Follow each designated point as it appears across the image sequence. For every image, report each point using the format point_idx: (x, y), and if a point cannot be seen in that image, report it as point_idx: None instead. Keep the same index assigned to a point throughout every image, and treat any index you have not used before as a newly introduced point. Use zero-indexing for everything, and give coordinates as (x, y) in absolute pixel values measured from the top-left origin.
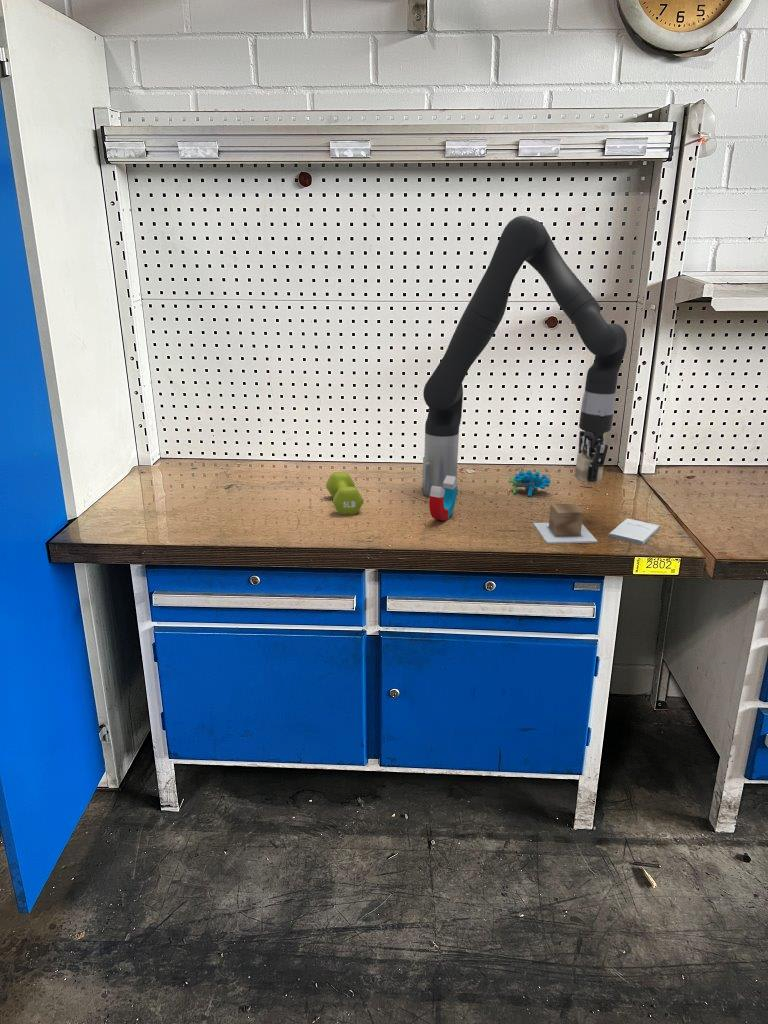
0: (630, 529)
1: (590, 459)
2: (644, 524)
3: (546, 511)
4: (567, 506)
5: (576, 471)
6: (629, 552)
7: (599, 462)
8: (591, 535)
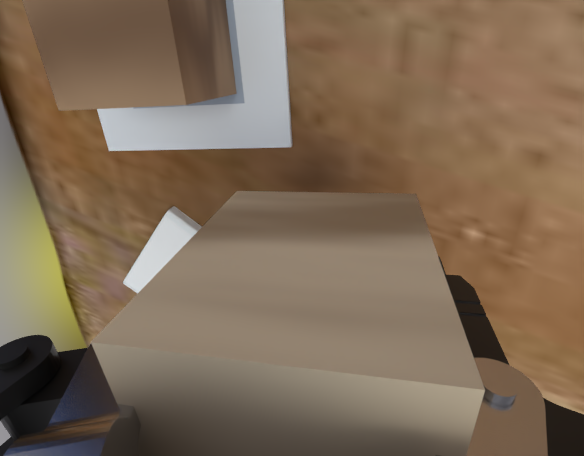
0: None
1: (74, 404)
2: None
3: (474, 7)
4: (129, 38)
5: (386, 216)
6: (66, 221)
7: (12, 436)
8: (155, 145)
